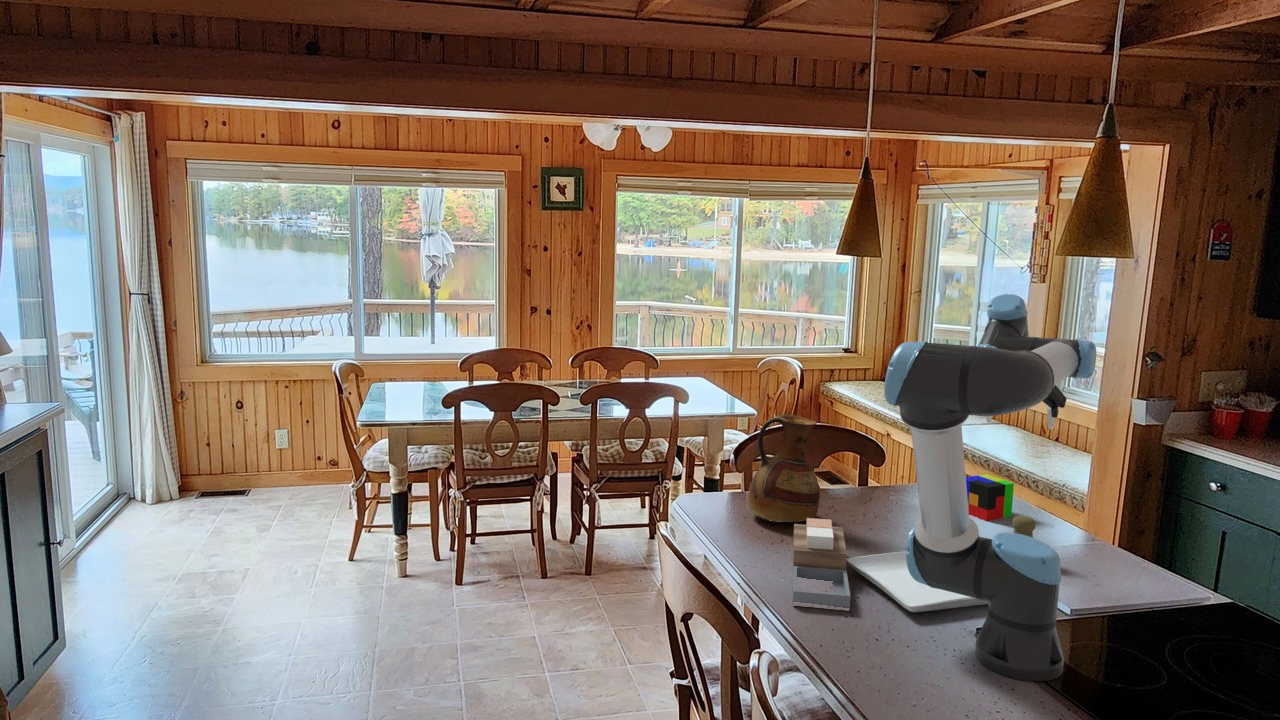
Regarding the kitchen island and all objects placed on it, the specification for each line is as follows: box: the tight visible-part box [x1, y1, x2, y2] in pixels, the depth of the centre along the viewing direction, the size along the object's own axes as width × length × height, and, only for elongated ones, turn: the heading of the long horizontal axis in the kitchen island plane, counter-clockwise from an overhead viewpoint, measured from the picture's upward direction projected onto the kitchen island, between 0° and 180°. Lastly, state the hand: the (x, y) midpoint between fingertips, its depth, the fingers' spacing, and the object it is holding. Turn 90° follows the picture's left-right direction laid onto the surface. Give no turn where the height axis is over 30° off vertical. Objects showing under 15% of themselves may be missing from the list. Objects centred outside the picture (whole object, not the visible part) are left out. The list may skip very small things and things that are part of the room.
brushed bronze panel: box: [792, 523, 848, 571], centre depth 197 cm, size 18×12×7 cm, turn 169°
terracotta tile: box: [805, 517, 833, 538], centre depth 199 cm, size 6×6×3 cm
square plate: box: [846, 550, 988, 613], centre depth 185 cm, size 27×27×4 cm
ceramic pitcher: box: [747, 413, 821, 523], centre depth 229 cm, size 20×20×30 cm
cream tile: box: [807, 527, 834, 550], centre depth 192 cm, size 6×6×3 cm
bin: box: [792, 565, 851, 609], centre depth 181 cm, size 14×12×4 cm
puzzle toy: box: [966, 473, 1015, 522], centre depth 235 cm, size 10×10×10 cm
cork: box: [1012, 515, 1036, 538], centre depth 201 cm, size 6×6×11 cm
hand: (1020, 422), depth 193 cm, fingers open, 13 cm apart
